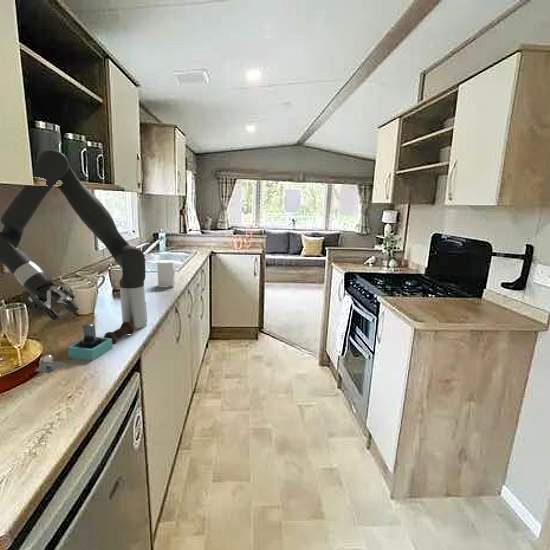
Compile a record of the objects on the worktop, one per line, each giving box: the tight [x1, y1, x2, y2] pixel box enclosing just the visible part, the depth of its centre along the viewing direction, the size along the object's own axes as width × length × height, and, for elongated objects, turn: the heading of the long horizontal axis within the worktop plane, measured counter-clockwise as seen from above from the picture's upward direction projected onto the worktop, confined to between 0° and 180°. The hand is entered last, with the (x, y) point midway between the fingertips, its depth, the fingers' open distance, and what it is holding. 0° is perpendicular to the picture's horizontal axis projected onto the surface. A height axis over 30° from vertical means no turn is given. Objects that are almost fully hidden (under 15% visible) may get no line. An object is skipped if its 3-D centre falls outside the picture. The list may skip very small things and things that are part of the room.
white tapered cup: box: [156, 259, 176, 288], centre depth 220 cm, size 9×9×15 cm
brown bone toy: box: [102, 322, 135, 345], centre depth 138 cm, size 6×5×15 cm
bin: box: [67, 336, 114, 361], centre depth 124 cm, size 10×9×5 cm
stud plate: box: [34, 354, 68, 374], centre depth 113 cm, size 7×7×5 cm
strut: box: [79, 322, 101, 349], centre depth 123 cm, size 4×4×10 cm
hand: (67, 314), depth 123 cm, fingers open, 8 cm apart
